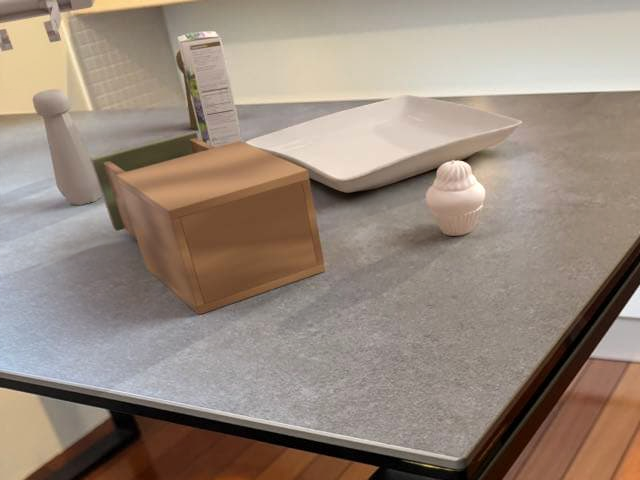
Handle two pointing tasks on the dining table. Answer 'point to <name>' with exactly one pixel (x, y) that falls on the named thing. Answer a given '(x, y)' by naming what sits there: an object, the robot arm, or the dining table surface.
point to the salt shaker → (67, 149)
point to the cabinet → (224, 223)
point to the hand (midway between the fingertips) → (30, 42)
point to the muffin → (455, 198)
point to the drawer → (135, 159)
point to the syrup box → (210, 88)
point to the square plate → (386, 141)
